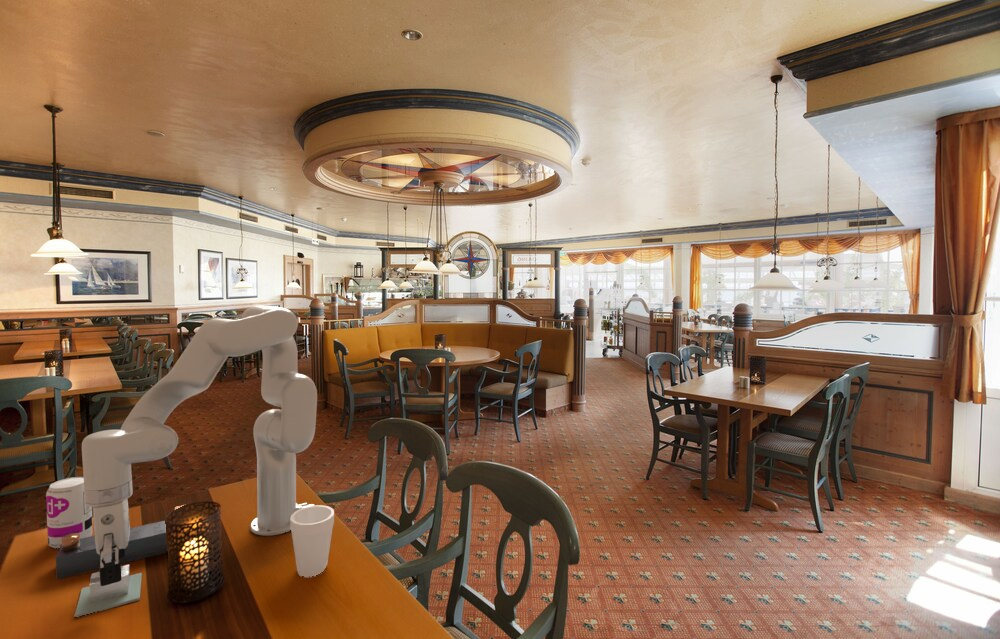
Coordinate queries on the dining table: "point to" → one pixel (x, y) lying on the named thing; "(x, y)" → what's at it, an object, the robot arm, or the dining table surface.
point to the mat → (87, 608)
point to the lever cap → (109, 586)
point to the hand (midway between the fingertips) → (113, 570)
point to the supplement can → (67, 511)
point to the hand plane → (84, 557)
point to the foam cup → (312, 538)
